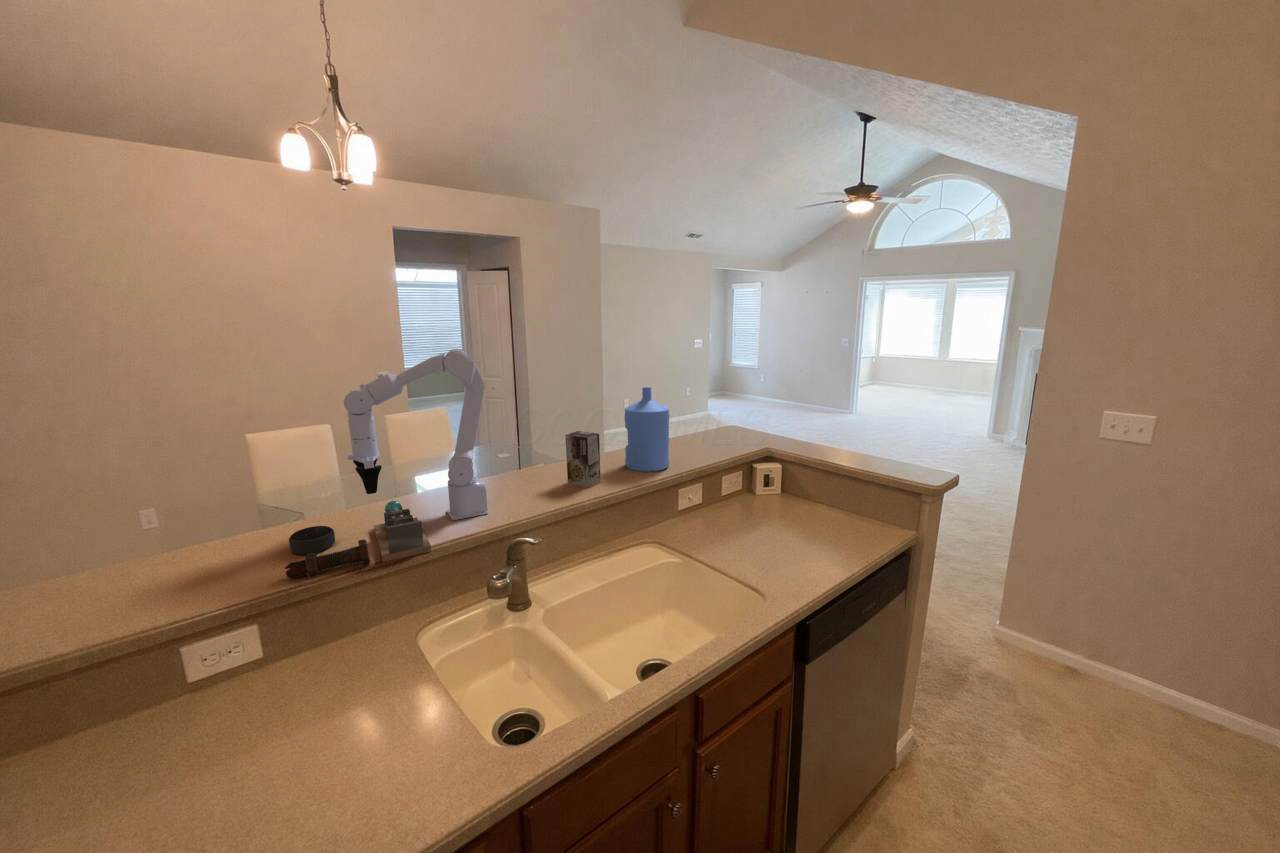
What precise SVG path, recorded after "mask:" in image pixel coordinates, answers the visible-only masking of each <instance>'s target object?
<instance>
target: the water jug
mask: <svg viewBox="0 0 1280 853" xmlns="http://www.w3.org/2000/svg"><path fill="white" fill-rule="evenodd" d="M641 389H642V392H641V394H642V398H641V399H640V400H639V401H637V402H635V403H633V404H631V405H629V406H627V407H625V409H624V429H626V431H627V445H625V448H624V449H625V460H624V465H625V467H626V468H628V469H629V470H631V471H635V472H640V471H641V473H646V472H647V473H650V472H651V471H654V472H660V471H663V470H666V469H667V468H668V467H669V465H670V409H669V407H668V406H665V405H663V404H661V403H659V402H657V401H655V400H653V398H652V387H650V386H649V387H647V386H646V387H642V388H641ZM665 468H666V469H665ZM659 470H660V471H659ZM651 473H652V472H651Z"/></svg>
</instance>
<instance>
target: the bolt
mask: <svg viewBox="0 0 1280 853" xmlns="http://www.w3.org/2000/svg"><path fill="white" fill-rule="evenodd" d="M357 542H358V545H357V546H352V547H350V548H347V549H343V550H339V551H333V552H331V553H327V554H321V555H317V553H310V554H307V555H304V559H300V560H296V561H293V562H289V563H288V564H287V565H286V566H284V569H285V570H286V571H285V576H286V577H287V578H289V579H292V578H293V579H294V578H297V577H300V576H305V575H307V577H309V578H313V577H317V576H319V574H320V572H321V571H327V570H330V569H334V568H338V567H343V566H346V565H350V564H358V563H361V565H362V567H366V566H369V565H370V564H371V559H370V554H369V553H370V552H369V548H368V542H367V540H366V539H364V538H363V539H359V540H357Z"/></svg>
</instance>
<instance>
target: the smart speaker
mask: <svg viewBox="0 0 1280 853" xmlns="http://www.w3.org/2000/svg"><path fill="white" fill-rule="evenodd" d="M335 535H336V534H335V530H334V529H333V528H332V527H330V526H327V525H316V526H315V525H314V526H309V527H305V528H303V529H299V530H297V531H294V533H292V534H291V535H290V536H289V539H288V543H289V549H290V552H292V553H293V554H295V555H302V556H303V555H304V556H306V555H307V554H310V553H315V554H317V553H321V552H324V551H326V550H328V549H330V548H331V547H332V546H334V544H335V543H336V537H335Z"/></svg>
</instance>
